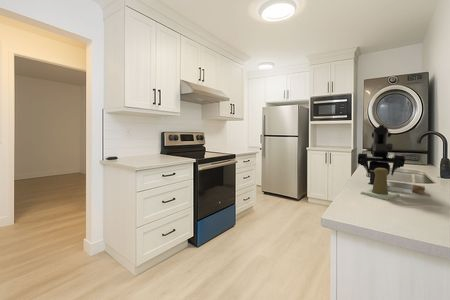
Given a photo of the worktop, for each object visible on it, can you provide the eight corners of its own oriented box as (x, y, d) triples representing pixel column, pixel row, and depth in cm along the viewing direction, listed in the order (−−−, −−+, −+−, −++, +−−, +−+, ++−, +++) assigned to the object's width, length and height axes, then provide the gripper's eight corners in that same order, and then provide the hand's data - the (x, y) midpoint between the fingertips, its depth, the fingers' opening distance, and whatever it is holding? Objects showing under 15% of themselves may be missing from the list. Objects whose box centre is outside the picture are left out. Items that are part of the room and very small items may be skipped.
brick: (412, 192, 103) (413, 186, 103) (412, 190, 106) (413, 184, 106) (423, 194, 101) (424, 188, 100) (423, 192, 104) (424, 186, 104)
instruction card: (383, 189, 110) (383, 188, 110) (389, 186, 116) (389, 185, 116) (415, 194, 101) (415, 193, 101) (419, 191, 107) (419, 190, 107)
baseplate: (360, 193, 102) (360, 191, 102) (373, 190, 108) (373, 188, 107) (386, 200, 93) (386, 197, 93) (399, 196, 98) (399, 193, 98)
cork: (391, 194, 97) (392, 169, 96) (375, 194, 98) (377, 169, 97) (383, 191, 103) (385, 167, 102) (369, 190, 104) (370, 166, 103)
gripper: (358, 137, 113) (357, 161, 105) (406, 138, 103) (408, 165, 95) (358, 151, 121) (356, 175, 112) (402, 153, 111) (404, 180, 102)
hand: (379, 173), depth 105 cm, fingers open, 9 cm apart
